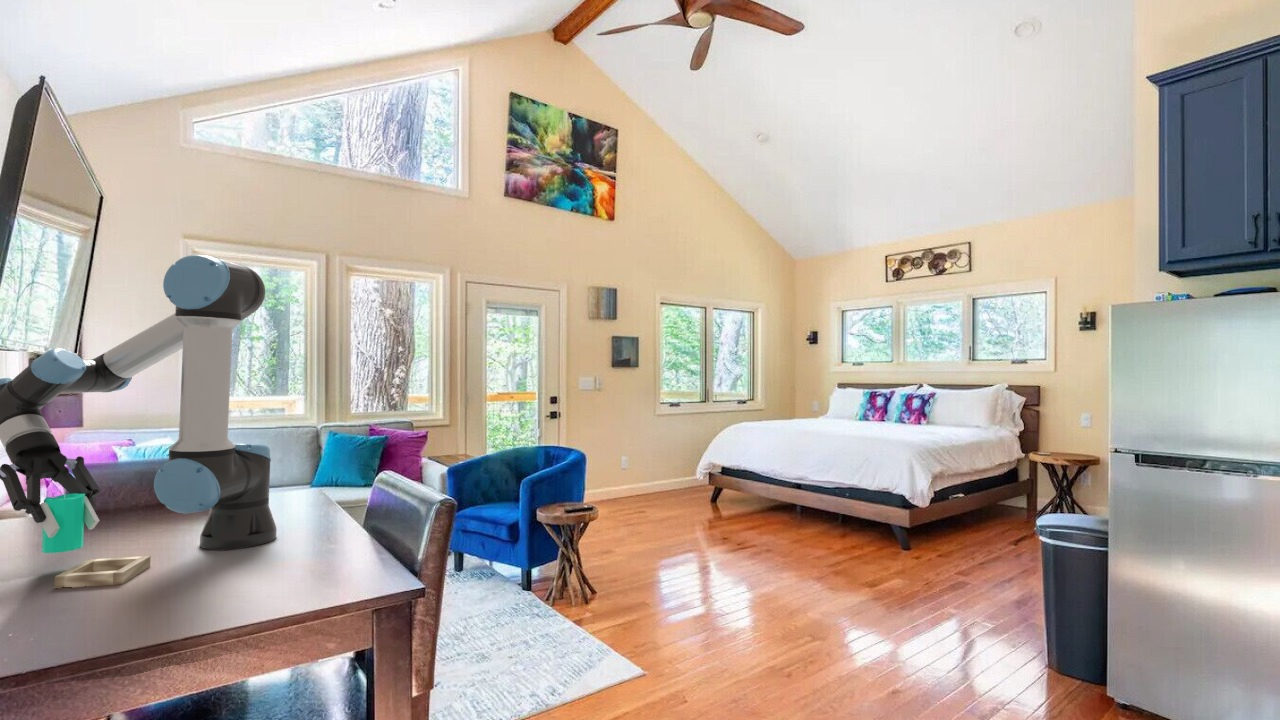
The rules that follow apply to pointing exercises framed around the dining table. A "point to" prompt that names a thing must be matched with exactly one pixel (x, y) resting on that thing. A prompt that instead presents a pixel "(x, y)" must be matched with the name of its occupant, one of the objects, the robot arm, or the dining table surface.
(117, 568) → the holder collar
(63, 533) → the candle
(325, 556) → the dining table surface
